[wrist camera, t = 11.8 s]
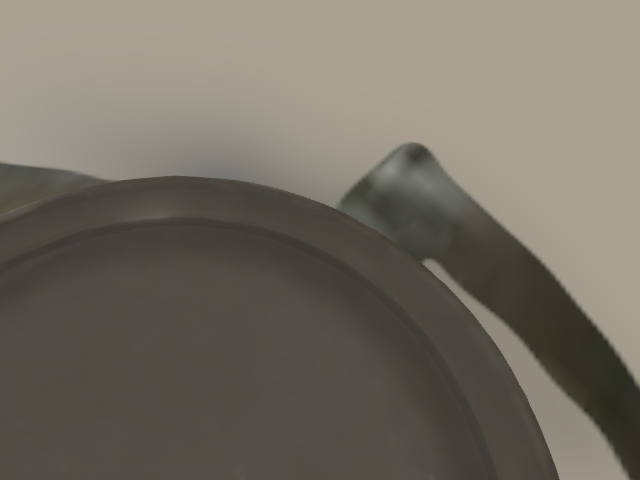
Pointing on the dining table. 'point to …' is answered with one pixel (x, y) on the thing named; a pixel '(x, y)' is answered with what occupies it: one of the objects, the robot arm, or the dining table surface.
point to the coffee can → (240, 346)
